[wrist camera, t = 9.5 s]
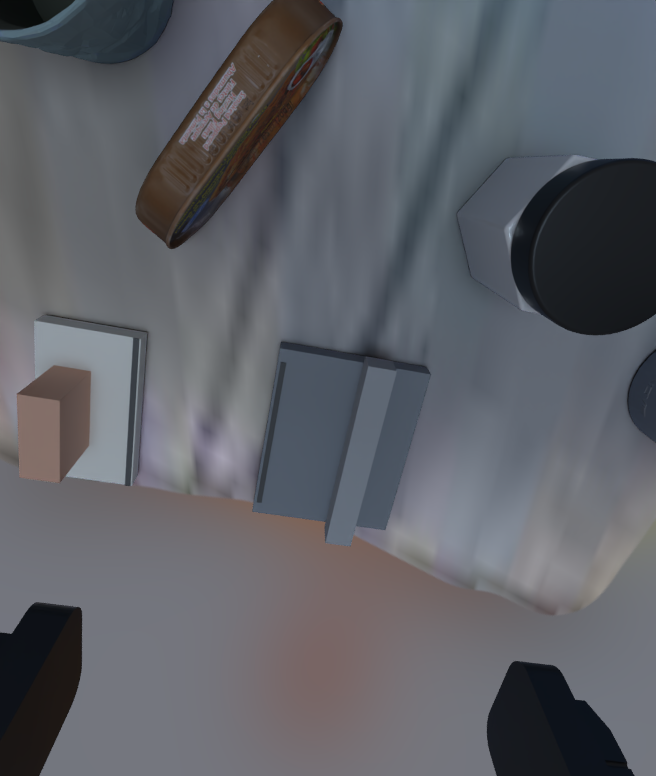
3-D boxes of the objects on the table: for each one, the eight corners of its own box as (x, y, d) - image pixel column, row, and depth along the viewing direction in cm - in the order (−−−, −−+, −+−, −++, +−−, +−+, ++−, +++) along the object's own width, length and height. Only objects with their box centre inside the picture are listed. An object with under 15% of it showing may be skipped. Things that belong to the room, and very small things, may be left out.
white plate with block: (147, 332, 37) (116, 364, 31) (137, 474, 41) (109, 526, 35) (44, 314, 36) (-8, 344, 30) (46, 461, 41) (1, 512, 35)
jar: (509, 313, 38) (593, 374, 27) (430, 238, 35) (486, 270, 24) (608, 215, 35) (746, 237, 24) (530, 126, 33) (644, 106, 22)
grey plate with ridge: (428, 361, 39) (439, 378, 36) (381, 523, 44) (387, 551, 41) (282, 334, 38) (280, 350, 34) (253, 505, 43) (248, 532, 40)
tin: (192, 243, 35) (159, 264, 27) (152, 210, 34) (107, 222, 26) (342, 47, 31) (354, 6, 23) (302, 4, 30) (300, -53, 22)
